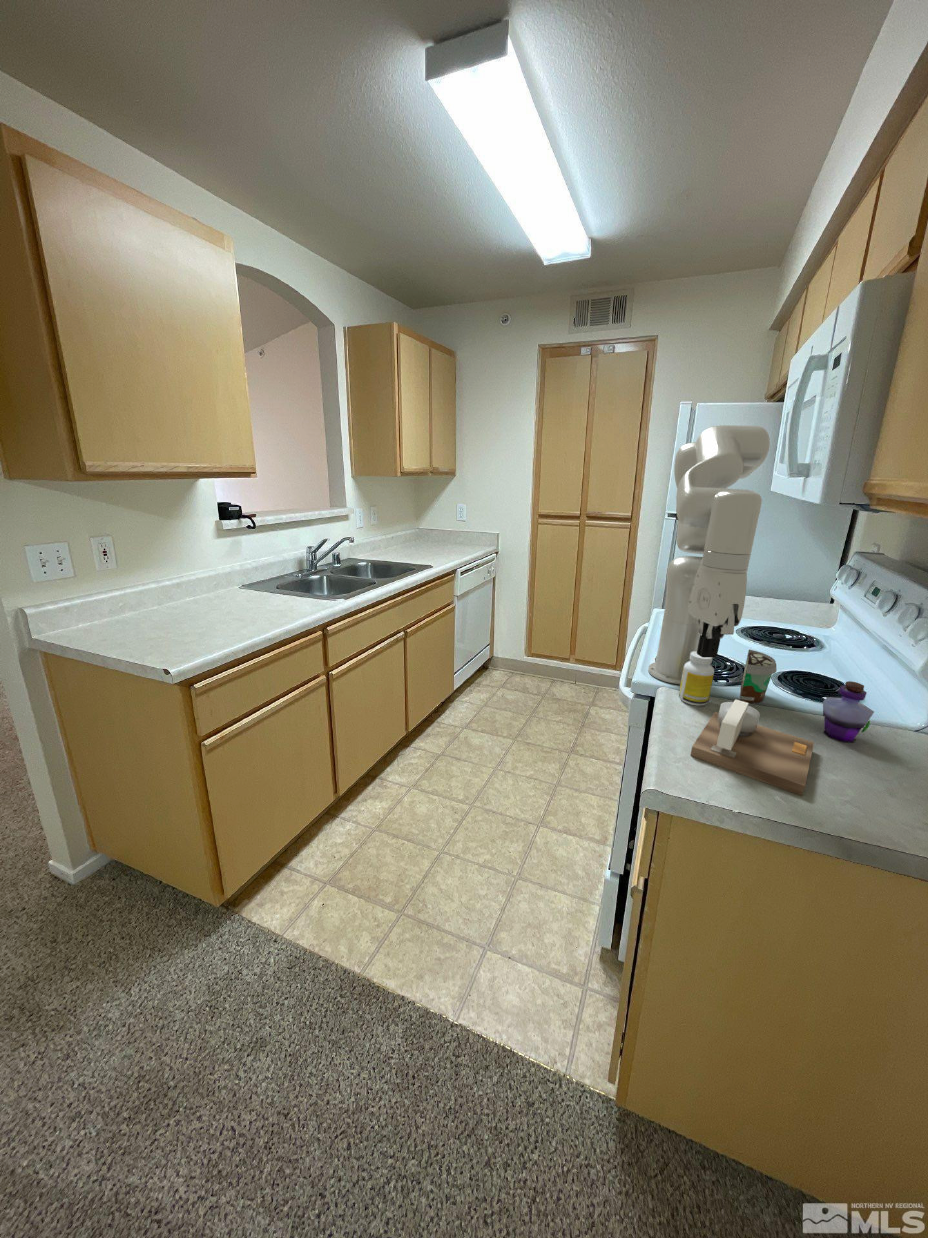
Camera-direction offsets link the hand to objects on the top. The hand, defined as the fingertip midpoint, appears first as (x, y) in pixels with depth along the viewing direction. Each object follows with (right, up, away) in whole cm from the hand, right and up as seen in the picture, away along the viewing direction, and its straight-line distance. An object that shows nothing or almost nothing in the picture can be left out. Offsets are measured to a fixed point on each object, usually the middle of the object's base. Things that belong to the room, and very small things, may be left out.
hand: (706, 655), depth 94 cm
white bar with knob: (+6, -15, +2) cm, 16 cm away
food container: (+24, -12, +24) cm, 36 cm away
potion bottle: (+32, -18, +9) cm, 37 cm away
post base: (+9, -19, +1) cm, 21 cm away
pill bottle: (+8, -12, +22) cm, 26 cm away
